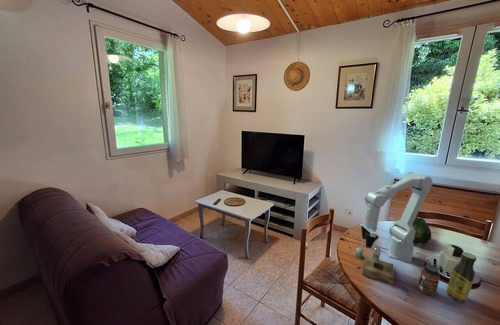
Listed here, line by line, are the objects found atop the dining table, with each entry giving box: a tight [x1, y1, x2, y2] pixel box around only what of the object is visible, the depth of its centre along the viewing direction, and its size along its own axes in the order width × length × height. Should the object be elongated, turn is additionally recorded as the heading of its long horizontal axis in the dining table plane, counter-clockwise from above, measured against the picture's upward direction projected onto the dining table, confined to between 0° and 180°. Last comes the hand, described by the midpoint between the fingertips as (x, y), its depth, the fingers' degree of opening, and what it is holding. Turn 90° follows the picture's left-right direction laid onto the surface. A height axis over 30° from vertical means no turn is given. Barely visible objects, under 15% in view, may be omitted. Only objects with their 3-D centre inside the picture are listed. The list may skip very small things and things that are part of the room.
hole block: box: [362, 255, 395, 285], centre depth 103 cm, size 12×10×4 cm
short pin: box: [355, 247, 364, 259], centre depth 115 cm, size 3×3×4 cm
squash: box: [402, 217, 432, 245], centre depth 128 cm, size 14×15×15 cm
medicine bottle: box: [437, 244, 464, 274], centre depth 105 cm, size 7×7×12 cm
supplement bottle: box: [417, 264, 440, 297], centre depth 92 cm, size 6×6×11 cm
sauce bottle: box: [446, 251, 477, 303], centre depth 88 cm, size 6×6×20 cm
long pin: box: [371, 246, 381, 260], centre depth 111 cm, size 3×3×7 cm
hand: (366, 243), depth 108 cm, fingers open, 7 cm apart
